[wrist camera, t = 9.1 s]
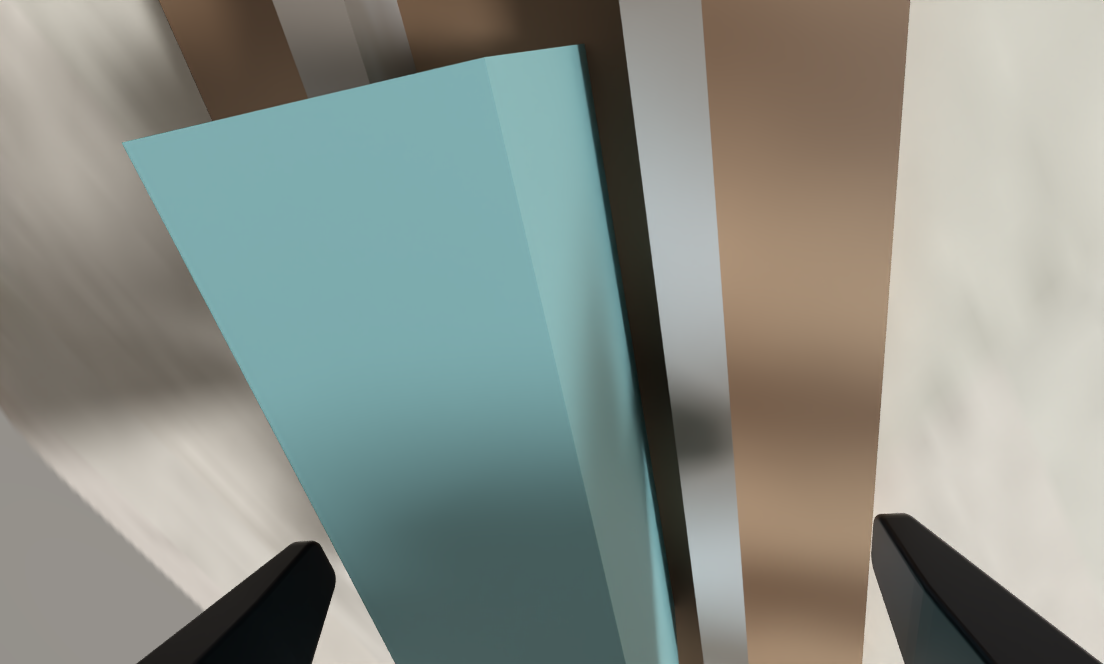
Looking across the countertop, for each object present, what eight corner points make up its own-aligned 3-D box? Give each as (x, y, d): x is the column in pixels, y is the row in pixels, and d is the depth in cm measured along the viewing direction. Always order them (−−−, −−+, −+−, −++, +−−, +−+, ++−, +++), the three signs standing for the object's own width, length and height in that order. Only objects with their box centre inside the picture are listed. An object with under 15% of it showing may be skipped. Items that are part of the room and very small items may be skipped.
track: (847, 663, 17) (887, 779, 14) (474, 662, 19) (449, 760, 17) (903, -376, 7) (1058, -611, 5) (148, -117, 10) (-32, -174, 7)
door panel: (674, 608, 15) (702, 993, 9) (588, 609, 16) (559, 976, 10) (584, 43, 9) (483, 56, 3) (447, 75, 10) (120, 143, 3)
